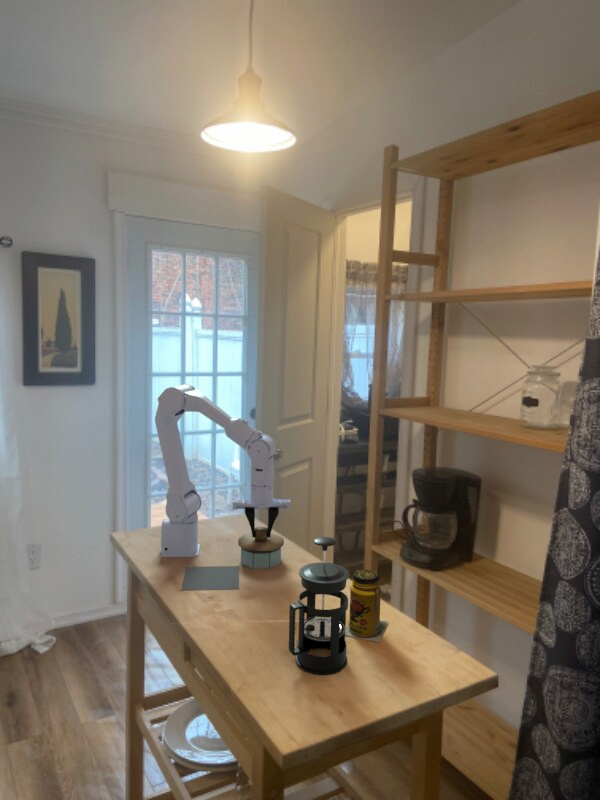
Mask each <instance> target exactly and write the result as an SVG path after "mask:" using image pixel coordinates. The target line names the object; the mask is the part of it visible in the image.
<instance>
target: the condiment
mask: <svg viewBox="0 0 600 800" xmlns="http://www.w3.org/2000/svg"><path fill="white" fill-rule="evenodd" d="M349 588H350V590H349V592H350V595H349V622H348V624H347V627H345V628H346V630H345V636H348V637H351V638H355V639H360V640H365V641H373V642H378V643H379V642H380V641H381V638H382V636H383V634H384V632H385V629H386V628H387V624H388V622H389V621H387V620H381V617H380V616H381V598H382V597H381V596H382V595H381V593H382V589H381V586H380V575H379V573H378V572H376V571H374V570H373V569H357V570H356V571H354V572H353V574H352V584H351V585H350V587H349Z"/></svg>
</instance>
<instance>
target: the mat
mask: <svg viewBox="0 0 600 800" xmlns="http://www.w3.org/2000/svg"><path fill="white" fill-rule="evenodd" d="M239 589H240V566H239V565H226V566H225V565H224V566H222V565H221V566H219V565H218V566H217V565H216V566H206V565H205V566H185V571H184V575H183V580H182V585H181V589H180V591H182V592H183V591H219V590H221V591H223V590H224V591H226V590H228V591H229V590H230V591H231V590H233V591H235V590H236V591H237V590H239Z"/></svg>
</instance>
